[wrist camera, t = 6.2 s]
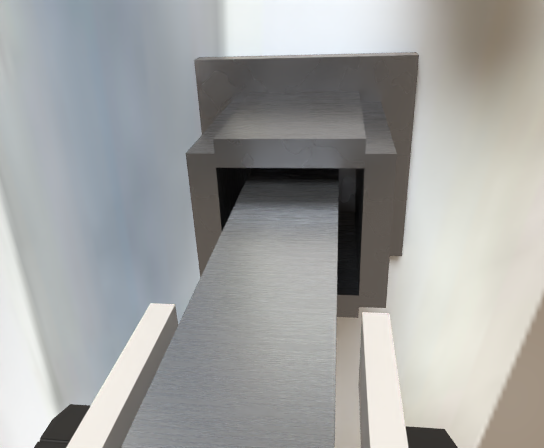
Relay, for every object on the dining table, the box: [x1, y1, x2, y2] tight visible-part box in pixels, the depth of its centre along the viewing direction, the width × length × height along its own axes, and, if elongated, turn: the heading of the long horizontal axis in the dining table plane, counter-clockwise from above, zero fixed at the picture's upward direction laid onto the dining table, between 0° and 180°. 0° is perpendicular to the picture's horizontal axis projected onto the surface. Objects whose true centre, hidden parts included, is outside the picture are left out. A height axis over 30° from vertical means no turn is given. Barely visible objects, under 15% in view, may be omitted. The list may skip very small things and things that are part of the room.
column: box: [121, 168, 339, 448], centre depth 15 cm, size 4×5×23 cm
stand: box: [186, 52, 419, 318], centre depth 25 cm, size 12×12×12 cm
